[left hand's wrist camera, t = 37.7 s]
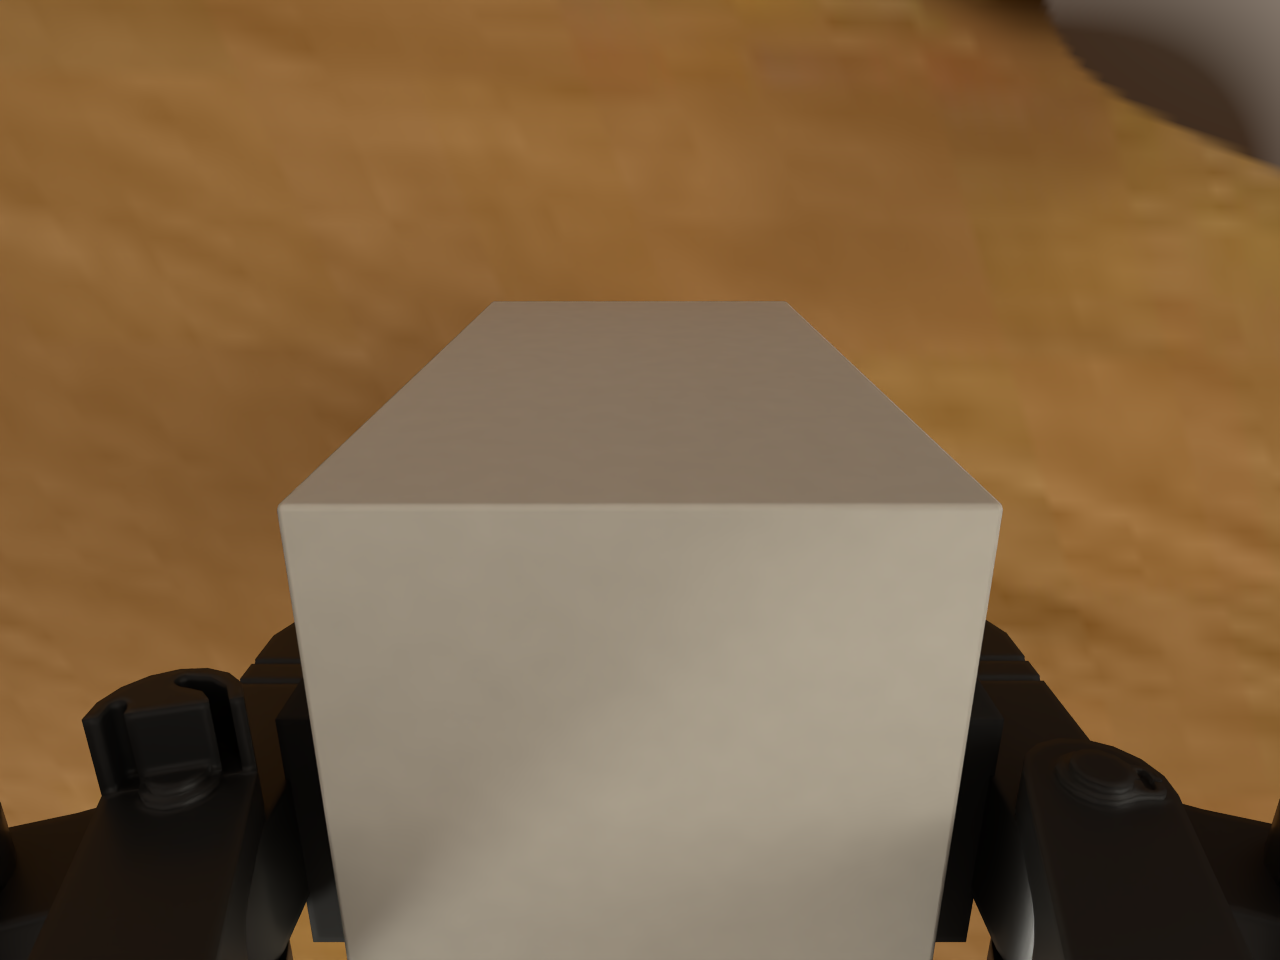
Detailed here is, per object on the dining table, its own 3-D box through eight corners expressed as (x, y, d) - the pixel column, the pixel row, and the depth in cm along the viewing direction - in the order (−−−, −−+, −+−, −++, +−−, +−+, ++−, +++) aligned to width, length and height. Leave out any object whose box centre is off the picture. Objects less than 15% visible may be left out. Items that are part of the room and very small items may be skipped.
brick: (787, 300, 15) (1007, 505, 6) (765, 672, 18) (896, 1200, 9) (491, 301, 15) (272, 505, 6) (513, 672, 18) (383, 1200, 9)
